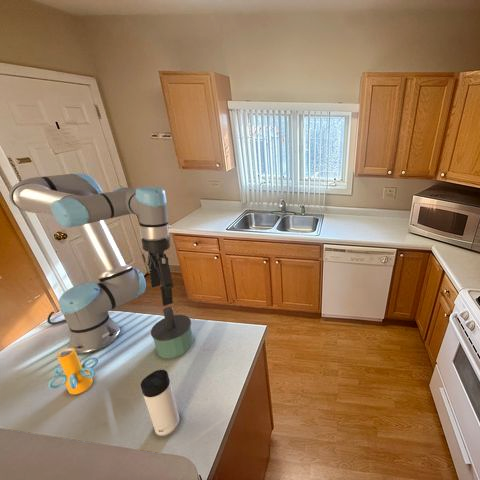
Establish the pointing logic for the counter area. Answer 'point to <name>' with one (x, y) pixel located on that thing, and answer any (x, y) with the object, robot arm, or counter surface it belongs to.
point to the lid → (170, 326)
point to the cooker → (174, 345)
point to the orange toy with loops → (73, 372)
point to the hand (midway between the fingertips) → (161, 294)
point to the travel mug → (160, 402)
